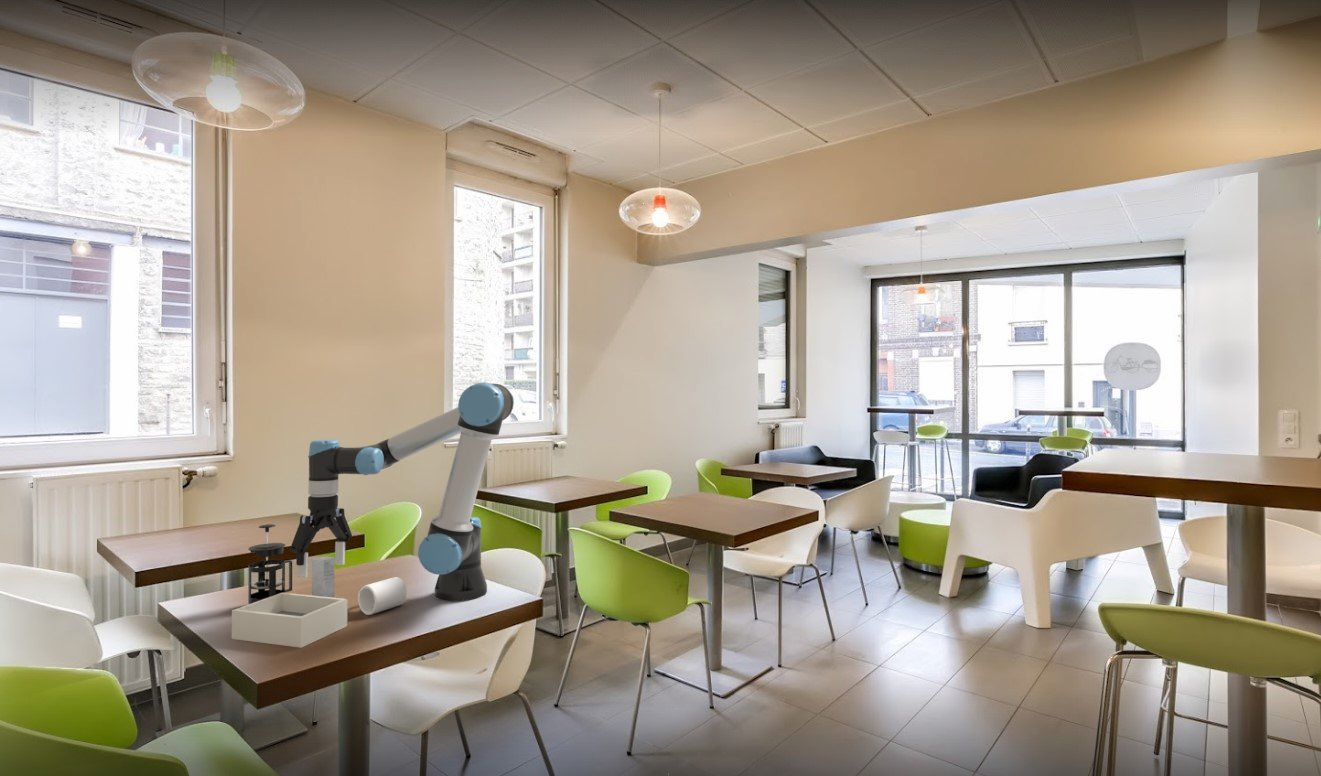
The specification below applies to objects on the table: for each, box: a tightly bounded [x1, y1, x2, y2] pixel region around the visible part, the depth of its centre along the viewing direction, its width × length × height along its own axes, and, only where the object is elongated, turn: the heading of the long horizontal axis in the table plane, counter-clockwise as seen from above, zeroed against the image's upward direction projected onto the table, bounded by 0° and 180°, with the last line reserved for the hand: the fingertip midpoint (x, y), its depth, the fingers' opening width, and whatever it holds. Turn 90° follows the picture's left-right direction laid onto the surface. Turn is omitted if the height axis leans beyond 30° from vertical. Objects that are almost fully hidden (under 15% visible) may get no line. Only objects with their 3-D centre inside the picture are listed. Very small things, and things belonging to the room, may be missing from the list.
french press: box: [247, 523, 293, 605], centre depth 187 cm, size 12×9×23 cm
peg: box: [311, 555, 335, 598], centre depth 184 cm, size 4×4×14 cm
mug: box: [357, 576, 408, 616], centre depth 184 cm, size 12×10×8 cm
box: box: [231, 592, 348, 649], centre depth 165 cm, size 21×15×7 cm
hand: (321, 570), depth 184 cm, fingers open, 13 cm apart
